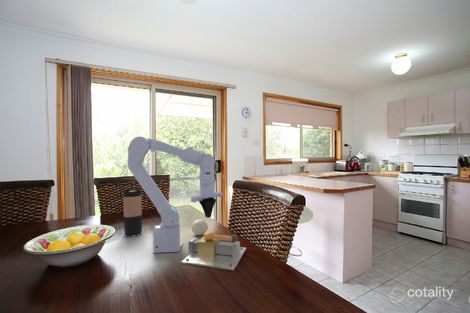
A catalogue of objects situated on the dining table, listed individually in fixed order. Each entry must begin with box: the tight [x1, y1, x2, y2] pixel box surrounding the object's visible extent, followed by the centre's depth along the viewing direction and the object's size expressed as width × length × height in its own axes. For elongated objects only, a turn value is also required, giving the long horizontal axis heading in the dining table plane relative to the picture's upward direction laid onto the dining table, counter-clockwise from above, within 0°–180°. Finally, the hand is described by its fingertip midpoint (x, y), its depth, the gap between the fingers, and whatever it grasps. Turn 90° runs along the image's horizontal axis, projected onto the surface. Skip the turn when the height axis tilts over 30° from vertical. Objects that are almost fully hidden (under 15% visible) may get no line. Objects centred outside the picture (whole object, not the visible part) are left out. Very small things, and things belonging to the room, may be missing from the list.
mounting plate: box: [180, 246, 247, 271], centre depth 80 cm, size 18×16×1 cm
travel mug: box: [122, 188, 143, 237], centre depth 105 cm, size 8×8×20 cm
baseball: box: [191, 219, 209, 236], centre depth 102 cm, size 7×7×7 cm
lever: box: [203, 231, 239, 243], centre depth 81 cm, size 12×3×2 cm, turn 73°
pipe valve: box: [187, 236, 241, 257], centre depth 81 cm, size 18×6×5 cm, turn 74°
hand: (208, 216), depth 92 cm, fingers closed
